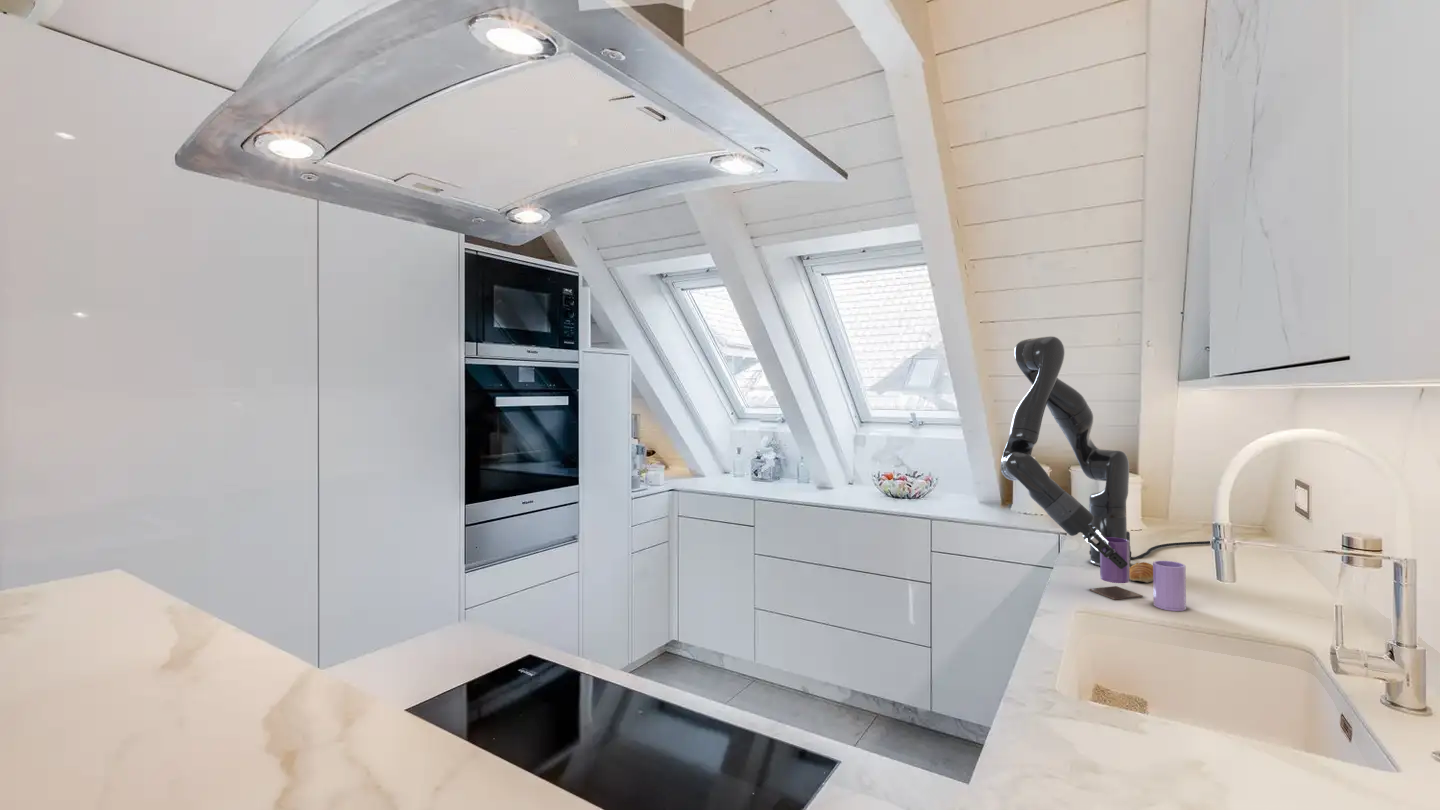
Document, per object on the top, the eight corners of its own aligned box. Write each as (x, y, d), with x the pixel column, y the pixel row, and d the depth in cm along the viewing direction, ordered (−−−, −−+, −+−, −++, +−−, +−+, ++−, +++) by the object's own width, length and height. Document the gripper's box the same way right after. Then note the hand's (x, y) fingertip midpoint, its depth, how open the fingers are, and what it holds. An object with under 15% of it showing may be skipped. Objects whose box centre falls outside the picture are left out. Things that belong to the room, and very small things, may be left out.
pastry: (1154, 585, 167) (1153, 571, 167) (1123, 581, 171) (1123, 567, 171) (1159, 577, 174) (1159, 563, 174) (1130, 573, 179) (1129, 559, 179)
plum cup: (1115, 575, 165) (1115, 536, 165) (1135, 582, 159) (1135, 541, 159) (1094, 577, 164) (1094, 537, 164) (1114, 584, 158) (1113, 543, 158)
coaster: (1116, 587, 166) (1116, 586, 166) (1142, 597, 158) (1142, 595, 158) (1089, 590, 165) (1089, 588, 165) (1114, 599, 157) (1114, 598, 157)
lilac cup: (1169, 601, 155) (1168, 559, 155) (1192, 609, 149) (1192, 566, 149) (1147, 603, 154) (1146, 561, 153) (1170, 612, 147) (1169, 568, 147)
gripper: (1082, 507, 158) (1140, 560, 153) (1077, 498, 171) (1130, 546, 166) (1058, 527, 160) (1114, 580, 155) (1054, 517, 173) (1106, 565, 168)
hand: (1122, 562), depth 161 cm, fingers closed on plum cup, 6 cm apart
